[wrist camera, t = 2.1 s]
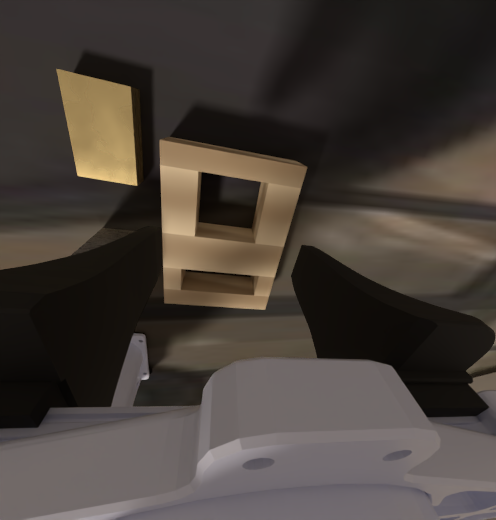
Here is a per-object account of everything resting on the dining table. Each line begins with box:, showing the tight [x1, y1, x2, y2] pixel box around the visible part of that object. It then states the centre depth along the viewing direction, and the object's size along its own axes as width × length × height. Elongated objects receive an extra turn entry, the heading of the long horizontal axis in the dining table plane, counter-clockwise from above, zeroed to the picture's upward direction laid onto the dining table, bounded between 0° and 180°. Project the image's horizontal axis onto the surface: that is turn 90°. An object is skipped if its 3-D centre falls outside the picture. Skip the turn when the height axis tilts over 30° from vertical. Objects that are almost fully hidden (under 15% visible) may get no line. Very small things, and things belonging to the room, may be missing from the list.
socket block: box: [160, 137, 307, 310], centre depth 19 cm, size 14×10×3 cm
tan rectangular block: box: [57, 69, 144, 186], centre depth 15 cm, size 6×4×2 cm, turn 169°
